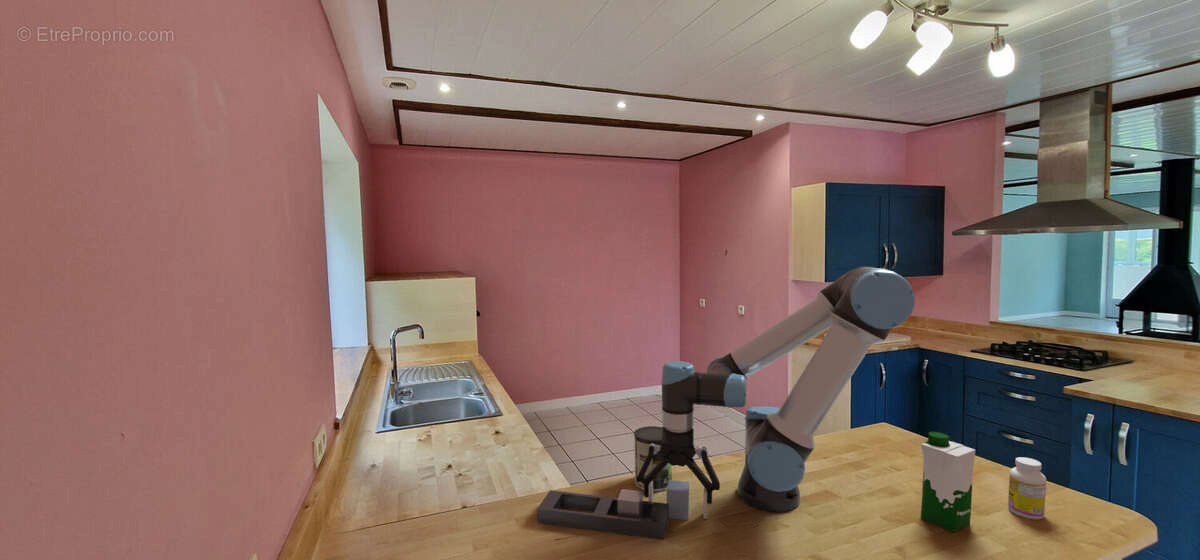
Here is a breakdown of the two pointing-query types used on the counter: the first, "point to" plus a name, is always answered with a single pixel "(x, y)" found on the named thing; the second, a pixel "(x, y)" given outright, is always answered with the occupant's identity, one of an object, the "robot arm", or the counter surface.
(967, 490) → the milk carton
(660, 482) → the coffee can
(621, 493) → the pale wooden cube
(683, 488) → the blue-grey rectangular block
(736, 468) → the counter surface
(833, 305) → the robot arm
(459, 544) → the counter surface
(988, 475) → the counter surface
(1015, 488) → the supplement bottle
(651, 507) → the dark grey compartment tray
